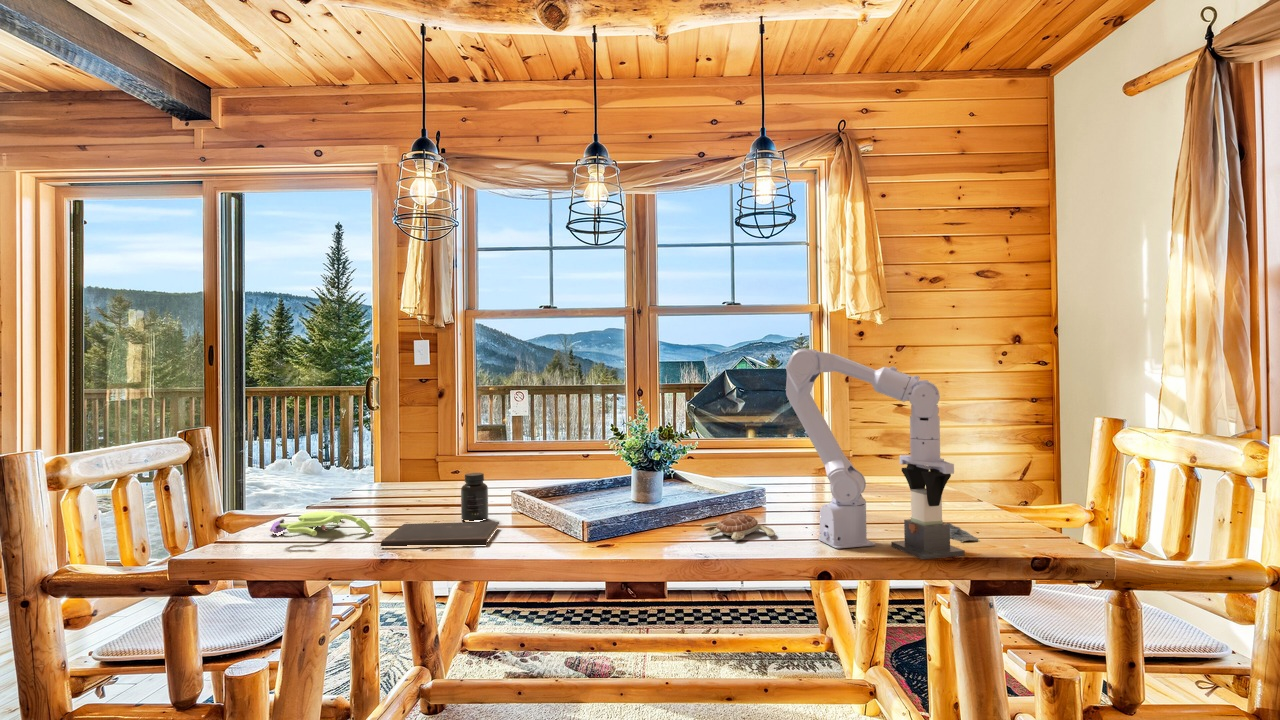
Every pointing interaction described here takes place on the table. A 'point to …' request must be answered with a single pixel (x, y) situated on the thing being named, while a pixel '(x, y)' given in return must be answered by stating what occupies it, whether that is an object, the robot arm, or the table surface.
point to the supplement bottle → (474, 498)
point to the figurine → (316, 522)
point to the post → (924, 509)
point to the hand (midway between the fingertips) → (926, 503)
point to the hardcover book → (441, 534)
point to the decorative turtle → (737, 526)
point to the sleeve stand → (927, 541)
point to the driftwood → (960, 534)
